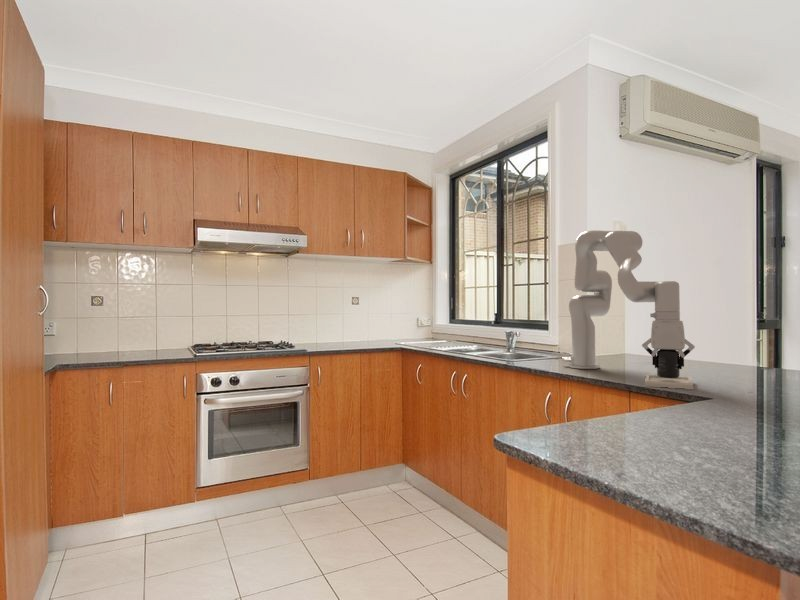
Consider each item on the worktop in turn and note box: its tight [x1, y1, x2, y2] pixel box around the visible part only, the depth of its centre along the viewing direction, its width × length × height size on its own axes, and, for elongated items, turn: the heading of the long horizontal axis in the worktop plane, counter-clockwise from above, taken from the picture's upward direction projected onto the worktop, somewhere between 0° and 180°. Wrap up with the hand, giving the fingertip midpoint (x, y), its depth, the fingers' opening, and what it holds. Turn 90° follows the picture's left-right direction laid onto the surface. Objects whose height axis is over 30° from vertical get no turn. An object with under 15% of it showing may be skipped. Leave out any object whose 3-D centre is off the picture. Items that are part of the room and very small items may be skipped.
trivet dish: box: [644, 374, 694, 390], centre depth 164 cm, size 14×14×2 cm
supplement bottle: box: [656, 349, 681, 378], centre depth 164 cm, size 7×7×12 cm
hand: (668, 367), depth 164 cm, fingers closed on supplement bottle, 6 cm apart
